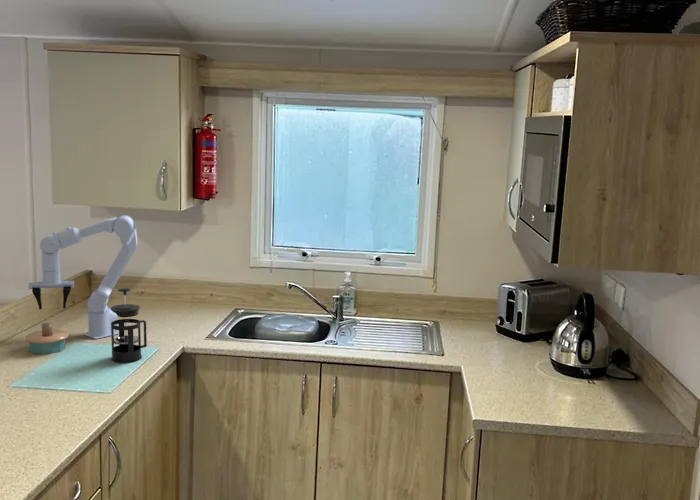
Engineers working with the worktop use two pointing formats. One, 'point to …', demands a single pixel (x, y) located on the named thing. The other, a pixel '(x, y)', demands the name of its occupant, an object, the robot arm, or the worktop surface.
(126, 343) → the french press
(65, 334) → the lid
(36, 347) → the bowl
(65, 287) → the robot arm
